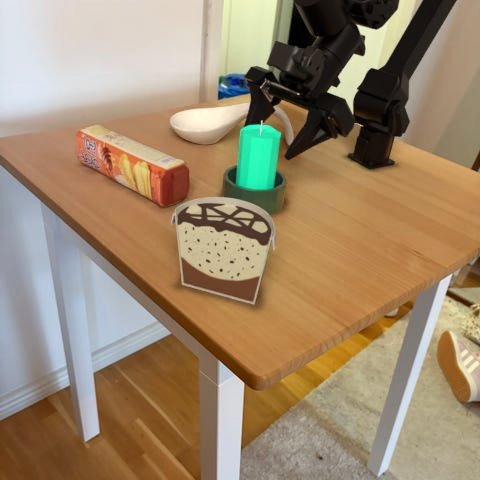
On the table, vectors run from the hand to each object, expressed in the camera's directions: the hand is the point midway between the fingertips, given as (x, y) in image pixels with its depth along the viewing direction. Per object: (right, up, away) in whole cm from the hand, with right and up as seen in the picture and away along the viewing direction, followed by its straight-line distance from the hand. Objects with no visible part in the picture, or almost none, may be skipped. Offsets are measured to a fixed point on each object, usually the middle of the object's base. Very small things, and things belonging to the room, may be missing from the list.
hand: (264, 147), depth 79 cm
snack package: (-21, -4, +6) cm, 22 cm away
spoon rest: (-5, +9, +24) cm, 26 cm away
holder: (-2, -7, +5) cm, 8 cm away
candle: (-1, -7, +5) cm, 8 cm away
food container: (-5, -21, -13) cm, 25 cm away
